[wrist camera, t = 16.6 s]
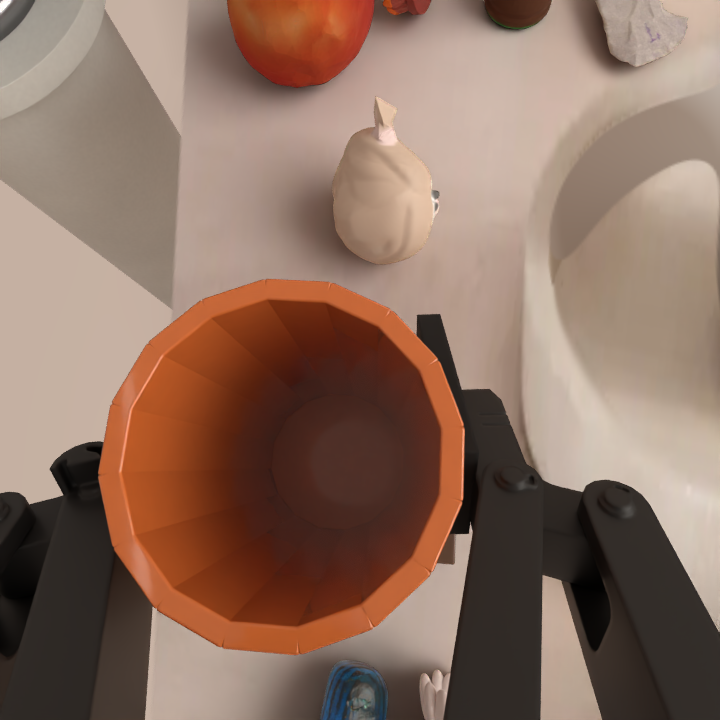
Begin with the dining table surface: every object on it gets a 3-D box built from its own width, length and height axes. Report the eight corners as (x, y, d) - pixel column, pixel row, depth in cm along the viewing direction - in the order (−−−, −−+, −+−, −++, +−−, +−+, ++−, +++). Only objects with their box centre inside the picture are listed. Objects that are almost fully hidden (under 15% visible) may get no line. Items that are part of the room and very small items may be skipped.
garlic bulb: (449, 209, 31) (473, 121, 23) (406, 293, 30) (417, 231, 22) (358, 170, 32) (352, 73, 24) (313, 250, 30) (291, 176, 23)
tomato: (246, 117, 33) (205, 8, 25) (243, 8, 35) (203, -125, 27) (381, 104, 32) (382, -10, 25) (370, -5, 34) (367, -142, 27)
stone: (624, 83, 32) (643, 58, 30) (561, 4, 34) (576, -25, 32) (685, 54, 33) (707, 28, 31) (622, -22, 34) (639, -52, 32)
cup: (274, 383, 20) (133, 270, 9) (415, 392, 20) (468, 287, 8) (258, 531, 19) (67, 635, 7) (408, 542, 19) (460, 671, 7)
